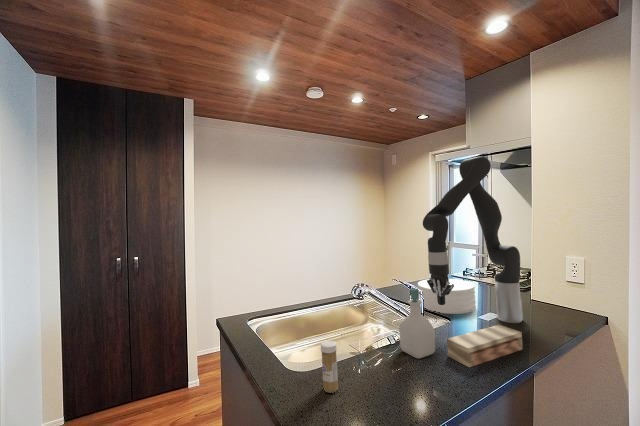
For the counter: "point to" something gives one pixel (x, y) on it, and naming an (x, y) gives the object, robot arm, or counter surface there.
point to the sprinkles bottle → (329, 366)
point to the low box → (484, 345)
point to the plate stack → (450, 297)
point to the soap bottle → (416, 331)
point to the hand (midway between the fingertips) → (441, 304)
